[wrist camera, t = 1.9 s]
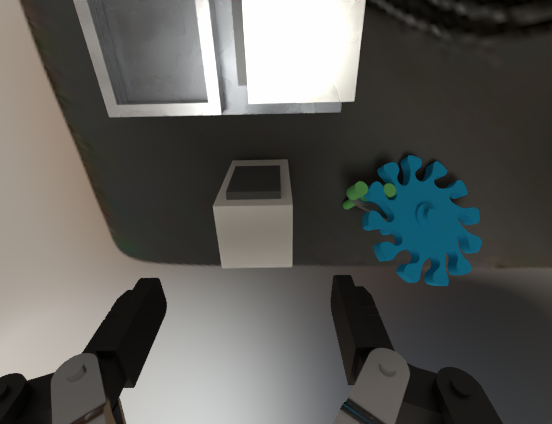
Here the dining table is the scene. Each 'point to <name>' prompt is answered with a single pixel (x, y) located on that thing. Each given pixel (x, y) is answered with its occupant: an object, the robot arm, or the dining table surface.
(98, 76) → the base with upright block
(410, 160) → the blue spiky virus toy
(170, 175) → the dining table surface
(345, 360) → the robot arm
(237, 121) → the dining table surface
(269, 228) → the block
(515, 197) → the dining table surface
